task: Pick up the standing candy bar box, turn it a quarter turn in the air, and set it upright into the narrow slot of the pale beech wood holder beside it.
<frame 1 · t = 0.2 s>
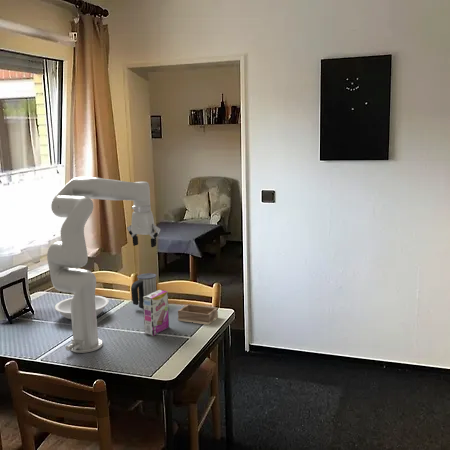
hand: (144, 245, 245), 31 cm above the table, tool pointing down, fingers open, 9 cm apart
soup bowl: (83, 317, 244), on the table
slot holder: (198, 319, 237), on the table
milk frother: (152, 308, 254), on the table
candy bar box: (157, 331, 225), on the table
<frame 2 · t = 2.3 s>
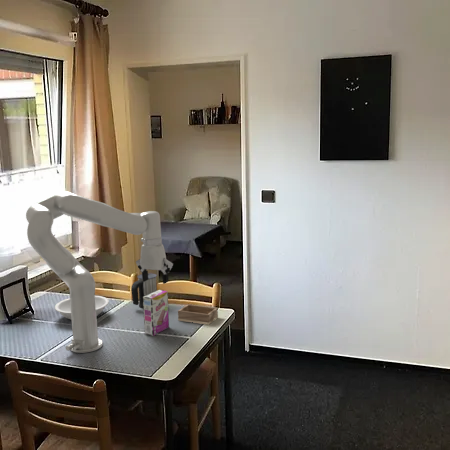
hand: (155, 281, 221), 21 cm above the table, tool pointing down, fingers open, 9 cm apart
nothing on the table moved.
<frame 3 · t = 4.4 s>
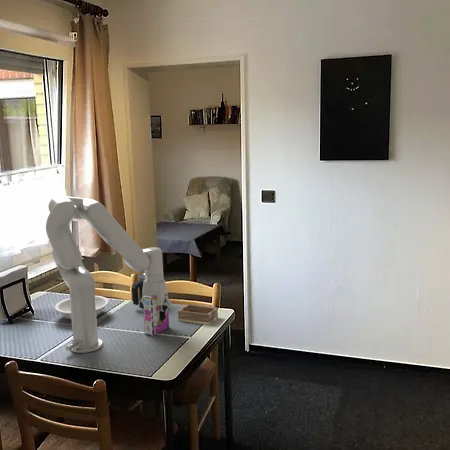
hand: (156, 318, 224), 5 cm above the table, tool pointing down, fingers closed on candy bar box, 5 cm apart
candy bar box: (157, 331, 225), on the table, touching gripper
everything else where it was.
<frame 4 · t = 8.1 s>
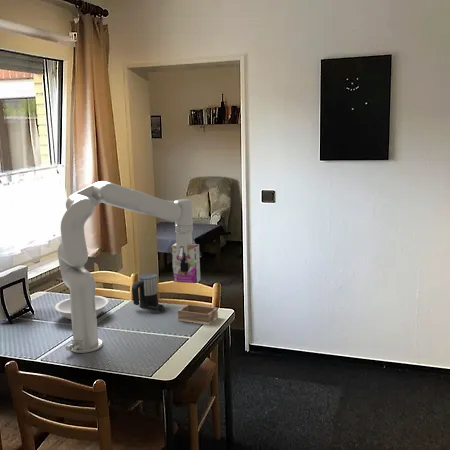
hand: (186, 269, 229), 24 cm above the table, tool pointing down, fingers closed on candy bar box, 5 cm apart
candy bar box: (187, 281, 231), point 18 cm above the table, touching gripper
everything else where it was.
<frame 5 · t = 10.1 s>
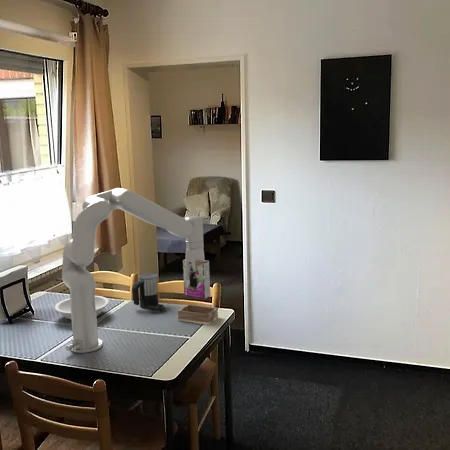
hand: (196, 284, 234), 16 cm above the table, tool pointing down, fingers closed on candy bar box, 5 cm apart
candy bar box: (197, 296, 235), point 10 cm above the table, touching gripper
everything else where it was.
when the fingers open (8 cm above the table, at t = 11.9 s): candy bar box drops 2 cm, resting on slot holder.
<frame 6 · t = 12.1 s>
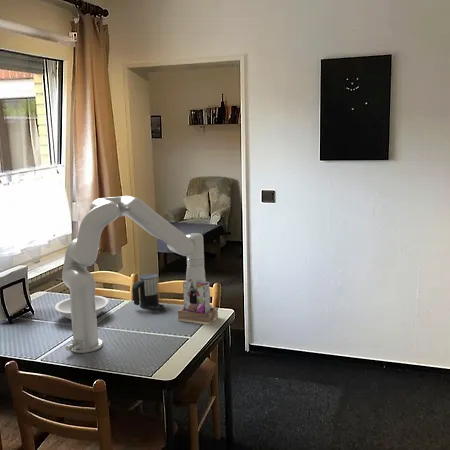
hand: (197, 300, 235), 9 cm above the table, tool pointing down, fingers open, 6 cm apart
candy bar box: (197, 317, 236), point 1 cm above the table, touching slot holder
everything else where it was.
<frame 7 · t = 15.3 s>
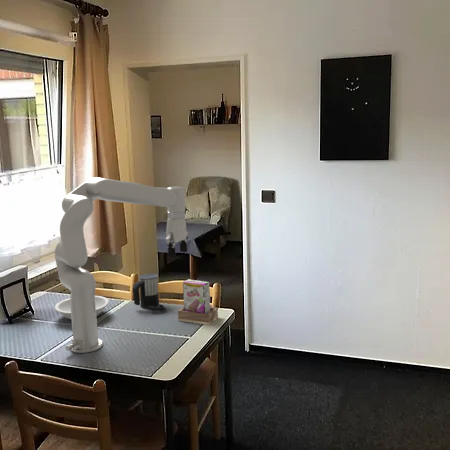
hand: (177, 254, 232), 30 cm above the table, tool pointing down, fingers open, 9 cm apart
nothing on the table moved.
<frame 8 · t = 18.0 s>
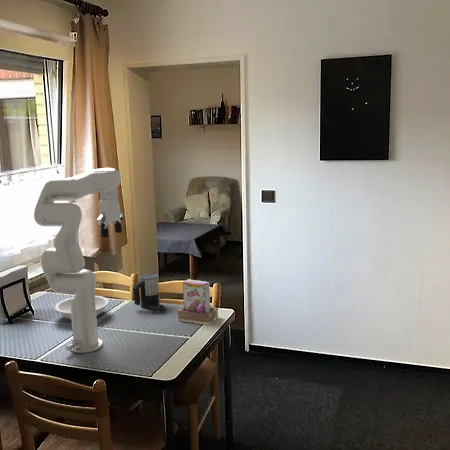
hand: (111, 234, 236), 38 cm above the table, tool pointing down, fingers open, 9 cm apart
at the end: candy bar box 0.4 cm off-centre on the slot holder, point 0.8 cm above the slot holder's base; candy bar box tilted 0°; the gripper is holding nothing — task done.
